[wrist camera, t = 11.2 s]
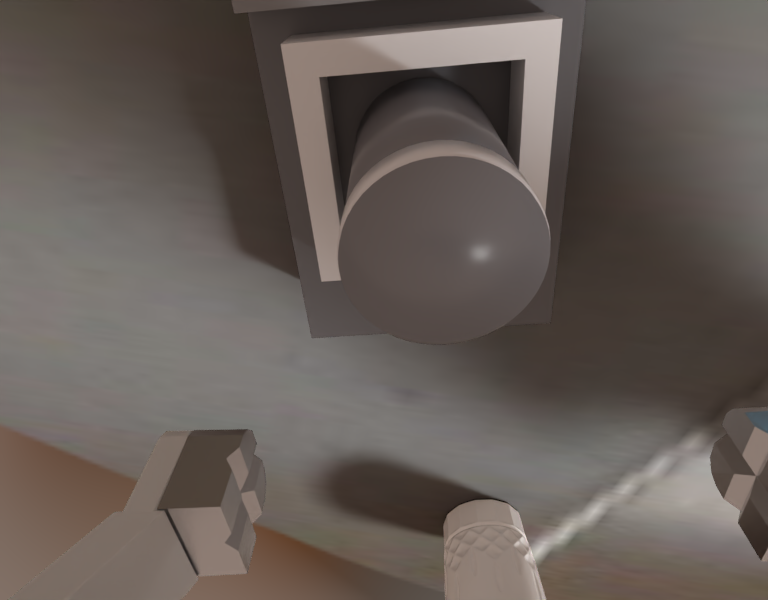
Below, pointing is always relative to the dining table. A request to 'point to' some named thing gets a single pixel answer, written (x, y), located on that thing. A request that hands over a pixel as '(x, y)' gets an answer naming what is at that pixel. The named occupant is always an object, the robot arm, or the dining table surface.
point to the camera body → (387, 68)
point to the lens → (438, 219)
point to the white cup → (488, 554)
